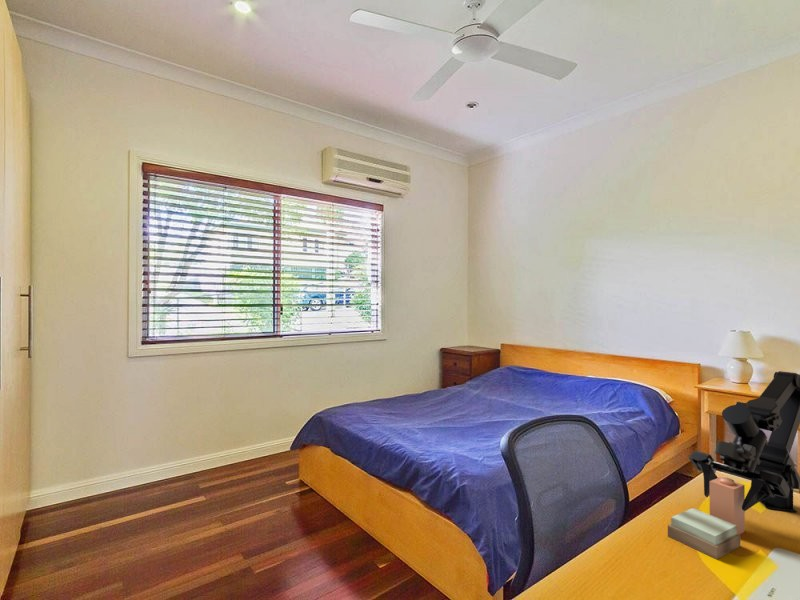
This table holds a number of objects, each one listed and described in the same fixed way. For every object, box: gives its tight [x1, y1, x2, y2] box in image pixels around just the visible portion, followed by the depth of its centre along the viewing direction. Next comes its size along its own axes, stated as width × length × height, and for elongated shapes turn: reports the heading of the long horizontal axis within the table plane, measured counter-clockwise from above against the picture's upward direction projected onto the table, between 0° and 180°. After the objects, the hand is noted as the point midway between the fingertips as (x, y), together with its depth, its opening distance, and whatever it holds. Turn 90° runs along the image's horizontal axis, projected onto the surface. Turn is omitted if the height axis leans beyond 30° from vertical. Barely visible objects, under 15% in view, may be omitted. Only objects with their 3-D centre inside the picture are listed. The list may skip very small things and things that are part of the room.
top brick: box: [709, 476, 746, 535], centre depth 100 cm, size 5×5×12 cm
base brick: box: [667, 507, 742, 560], centre depth 95 cm, size 10×10×4 cm
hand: (723, 502), depth 100 cm, fingers open, 7 cm apart
